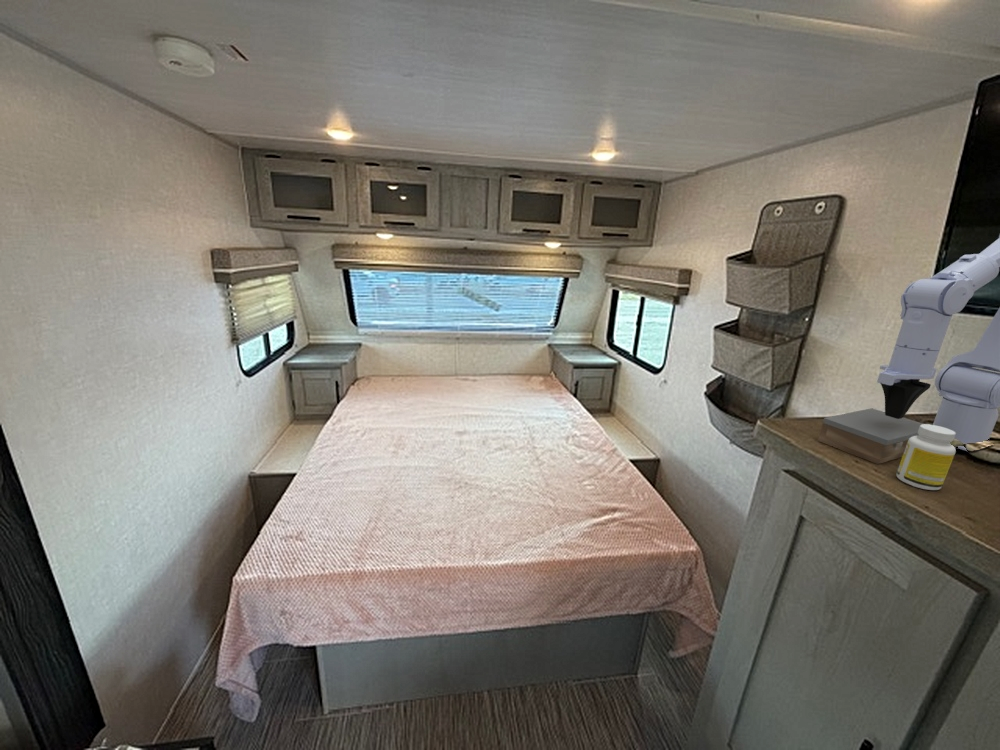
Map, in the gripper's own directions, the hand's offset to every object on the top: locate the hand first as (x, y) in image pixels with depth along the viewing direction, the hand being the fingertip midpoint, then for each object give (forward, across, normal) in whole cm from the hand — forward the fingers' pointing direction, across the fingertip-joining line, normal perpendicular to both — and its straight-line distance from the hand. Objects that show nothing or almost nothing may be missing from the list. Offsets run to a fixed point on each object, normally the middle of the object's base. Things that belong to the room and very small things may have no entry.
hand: (893, 416), depth 76 cm
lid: (+3, 0, -2) cm, 3 cm away
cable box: (+7, 0, -2) cm, 7 cm away
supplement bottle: (+7, +9, +9) cm, 15 cm away
